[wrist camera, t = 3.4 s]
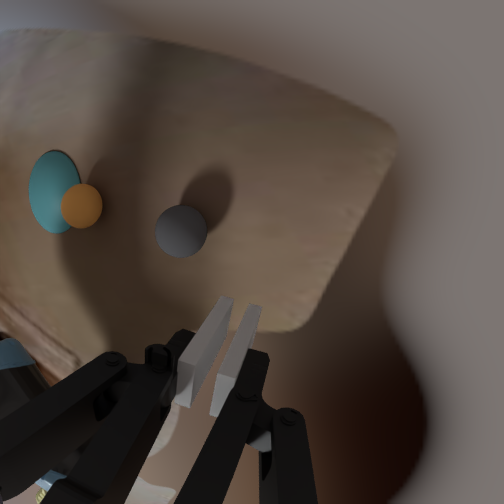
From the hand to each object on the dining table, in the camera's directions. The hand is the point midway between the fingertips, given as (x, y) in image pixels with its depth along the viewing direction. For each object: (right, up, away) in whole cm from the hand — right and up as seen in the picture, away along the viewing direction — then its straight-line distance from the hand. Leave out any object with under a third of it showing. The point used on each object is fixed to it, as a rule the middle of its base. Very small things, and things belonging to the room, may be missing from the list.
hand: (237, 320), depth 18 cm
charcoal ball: (-7, +6, +14) cm, 17 cm away
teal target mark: (-28, +13, +19) cm, 36 cm away
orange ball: (-20, +10, +16) cm, 27 cm away
